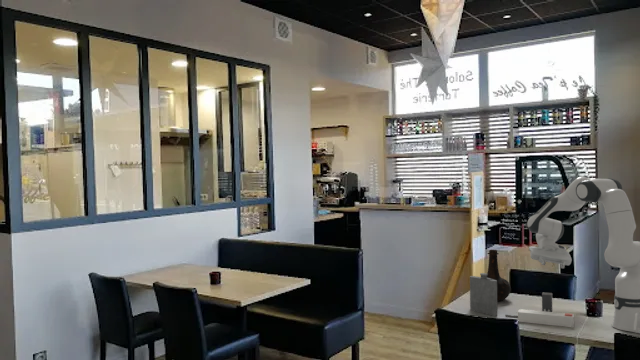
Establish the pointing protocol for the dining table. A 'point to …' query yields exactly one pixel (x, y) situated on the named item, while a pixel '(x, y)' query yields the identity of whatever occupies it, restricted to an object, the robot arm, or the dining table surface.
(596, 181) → the robot arm
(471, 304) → the hip flask
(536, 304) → the dining table surface
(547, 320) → the power strip
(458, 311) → the dining table surface
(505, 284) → the glass bottle
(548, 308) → the charger
